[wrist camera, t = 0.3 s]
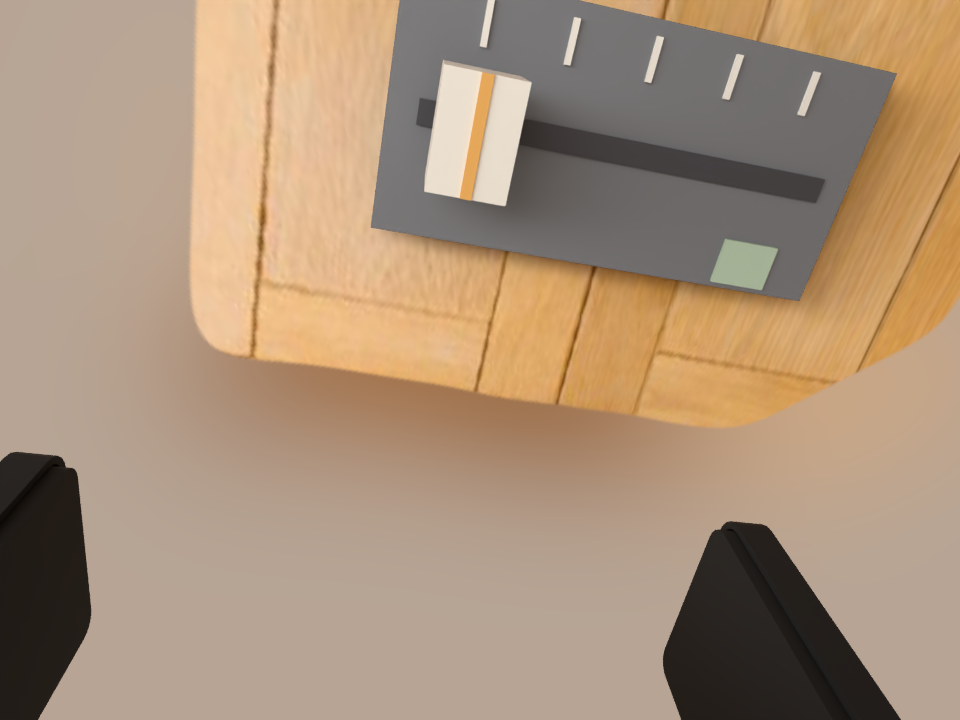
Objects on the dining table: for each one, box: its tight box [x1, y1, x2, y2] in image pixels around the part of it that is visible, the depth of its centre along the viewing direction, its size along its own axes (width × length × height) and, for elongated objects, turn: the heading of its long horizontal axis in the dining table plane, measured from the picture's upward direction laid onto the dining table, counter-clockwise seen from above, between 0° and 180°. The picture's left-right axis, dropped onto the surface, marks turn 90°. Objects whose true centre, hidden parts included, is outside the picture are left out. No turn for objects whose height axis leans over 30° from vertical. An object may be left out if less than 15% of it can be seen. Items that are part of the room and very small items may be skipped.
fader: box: [424, 60, 532, 206], centre depth 30 cm, size 5×4×5 cm
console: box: [371, 0, 897, 301], centre depth 35 cm, size 12×24×3 cm, turn 79°
